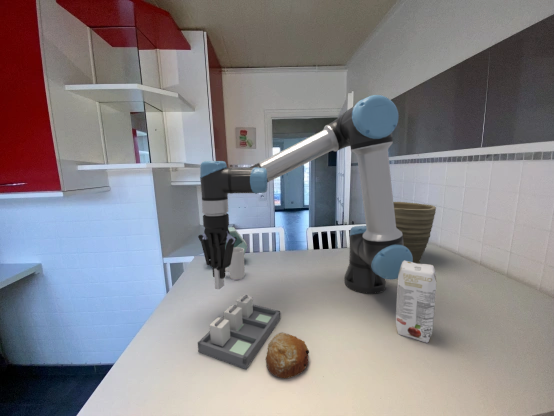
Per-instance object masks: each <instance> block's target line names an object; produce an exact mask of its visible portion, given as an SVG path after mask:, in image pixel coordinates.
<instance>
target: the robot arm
mask: <svg viewBox="0 0 554 416" xmlns="http://www.w3.org/2000/svg"><path fill="white" fill-rule="evenodd" d="M398 122H399V110H398V108H397V106H396V104H395V103H394V101H392V100H391V99H390V98H389V97H386V96H384V95H380V94H374V95H372V94H371V95H370V96H367V97H365V98H362V99H360V100H359V101H357V102H356V103H355V104H354V105H353V106H352V107H350V108H349V109H347V110H346V111H345V112H344V113H342V114H341V115H340V116H338V117H337V118H336V119H335V120H333V121H332V122H330V123H328V124H326V125H325V126H324V127H323V129H322V130H321V131H319V132H317V133H315V134H313V135H311V136H309V137H307V138H305V139H303V140H301V141H299V142H297V143H295V144H293V145H291V146H289V147H288V148H286V149H283V150H281V151H279V152H277V153H275V154H274V155H272V156H269V157H267V158H266V159H263V160H261V161H259V162H258V163H256V164H253V165H251V166H249V167H234V168H233V167H228V165H227V163H226V161H225V160H224V161H223V160H208V161H207V160H205V161H204V160H203V161H202V162H201V163H200V166H199V167H200V168H199V171H200V175H199V179H200V189H201V208H202V209H201V210H202V213H203V215H202V221H203V222H202V224H203V225H202V226H203V227H204V231H203V233H202V234H198V236H197V237H198V239H199V241H200V243H201V248H202V251H203V256H204V259H205V263H206V265H207V266H210V267H211V268H212V277H213V278H214V289H215V290H220V289H222V288H223V287H224V286H225V278H226V272H225V268H229V267H228V266H230V265H231V260H232V254H233V248H234V244H235V242H236V240H237V238H236V237H232V236H231V235H230V232H229V230H228V228H229V225H230V217H229V216H230V215H229V214H228V212H229V199H228V198H229V196H228V195H229V194H255V195H256V194H263V193H264V194H265V193H266V192H267V191H268V183H269V182H271V181H273V180H275V179H278V178H280V177H281V176H282V177H283V175H285V174H287V173H289V172H292V171H294V170H295V169H297V168H299V167H302V166H303V165H306V164H307V163H310V162H311V161H313V160H315V159H317V158H320V157H321V156H323V155H326V154H328V153H329V152H332V151H333V152H338V151H340V150H342V149H345V148H347V147H350V151H351V152H352V153H353V154H355V155H356V159H357V164H358V165H357V166H358V176H359V182H360V188H361V197H362V202H363V211H364V212H363V213H364V218H365V219H364V221H365V225H356V226H352V227H351V228H350V230H349V231H350V232H349V256H348V257H349V260H348V261H349V264H348V266H347V269H346V271H345V274H344V278H343V279H344V280H343V281H344V284H345V286H346V287H347V288H349V289H350V290H352V291H354V292H359V293H360V294H361V293H362V294H370V295H371V294H380V293H382V292H384V291H385V290H386V288H387V280H388V281H389V280H398V276H399V275H398V274H399V270H400V267H401V264H402V262H403V261H404V260H405V261H409V262H413V257H412V254H411V252H410V251H409V249H408V248H407V247H405V246H404V243H403V234H402V232H401V231H400V230H399V229H397V228H396V221H395V212H394V203H393V202H394V196H393V187H392V177H391V169H390V161H389V159H390V158H389V149H390V147H391V146H392V144H393V143H394V142H393V141H394V139H393V132H394V131H395V129H396V128H397V125H398ZM226 240H227V241H226ZM226 242H227V244H226ZM225 245H226V249H225Z"/></svg>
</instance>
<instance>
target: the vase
mask: <svg viewBox="0 0 554 416" xmlns="http://www.w3.org/2000/svg"><path fill="white" fill-rule="evenodd" d="M393 203H394V212H395V221H396V228H397V229H399V230H400V231H401V232H402V234H403V243H404V246H405V247H407V248H408V249H409V251H410V252H411V254H412V257H413V263H417V264H421V260H422V257H423V254H424V252H425V251H426V249H427V245H428V243H429V241H430V237H431V232H432V228H433V223H434V221H435V216H436V212H437V211H436V209H437V206H435V205H432V204H425V203H417V202H407V201H393Z"/></svg>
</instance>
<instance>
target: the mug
mask: <svg viewBox="0 0 554 416" xmlns="http://www.w3.org/2000/svg"><path fill="white" fill-rule="evenodd" d="M227 272H228V273H229V278H230V279H231V280H234V281H237V280H243V279H245V276H246V275H245V274H246V273H245V254H244V249H243V248H233V254H232V260H231V265H230V266H229V267H227V268H225V273H227Z"/></svg>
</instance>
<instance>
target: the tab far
mask: <svg viewBox="0 0 554 416" xmlns="http://www.w3.org/2000/svg"><path fill="white" fill-rule="evenodd" d="M253 300H254V299H253V297H252V296H248V294H243V295H241V296H239V298H238V299H236V300H235V302H236V304H235V305H237V307H240V308H242V316H243V317H247V318H249V316H250V315H251V314H252V313H253V305H254V303H253Z"/></svg>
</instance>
